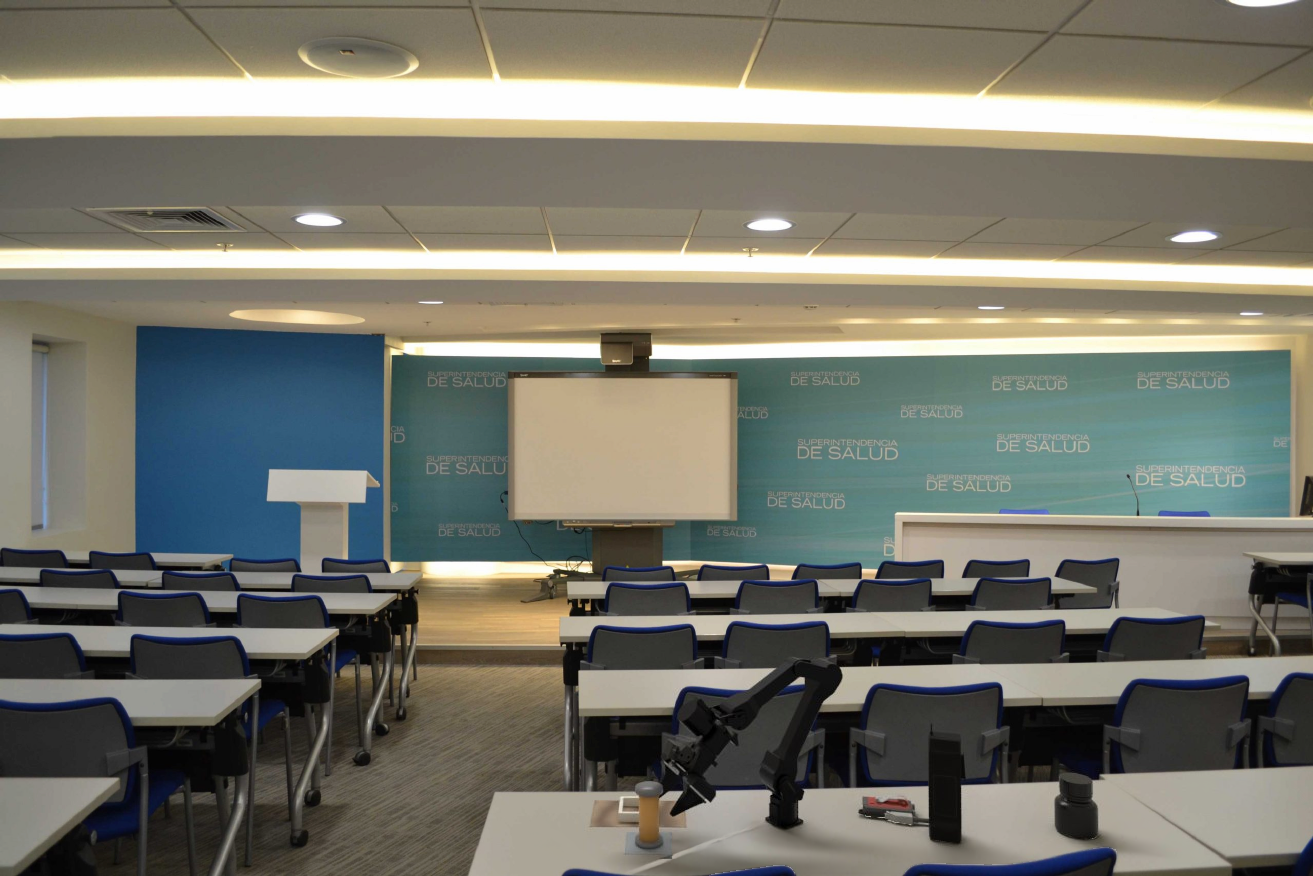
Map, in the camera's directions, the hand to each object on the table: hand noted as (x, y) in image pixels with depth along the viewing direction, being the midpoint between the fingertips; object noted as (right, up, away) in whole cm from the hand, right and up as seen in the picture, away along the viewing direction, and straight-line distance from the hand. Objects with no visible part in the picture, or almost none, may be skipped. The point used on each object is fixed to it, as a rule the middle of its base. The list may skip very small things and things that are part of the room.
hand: (662, 806), depth 175 cm
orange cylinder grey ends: (-3, -7, -1) cm, 8 cm away
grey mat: (-3, -8, -2) cm, 9 cm away
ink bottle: (+94, -9, +7) cm, 95 cm away
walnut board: (-6, -9, +13) cm, 17 cm away
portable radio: (+64, -9, +4) cm, 65 cm away
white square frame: (-6, -9, +13) cm, 17 cm away
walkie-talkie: (+57, -9, +14) cm, 59 cm away
